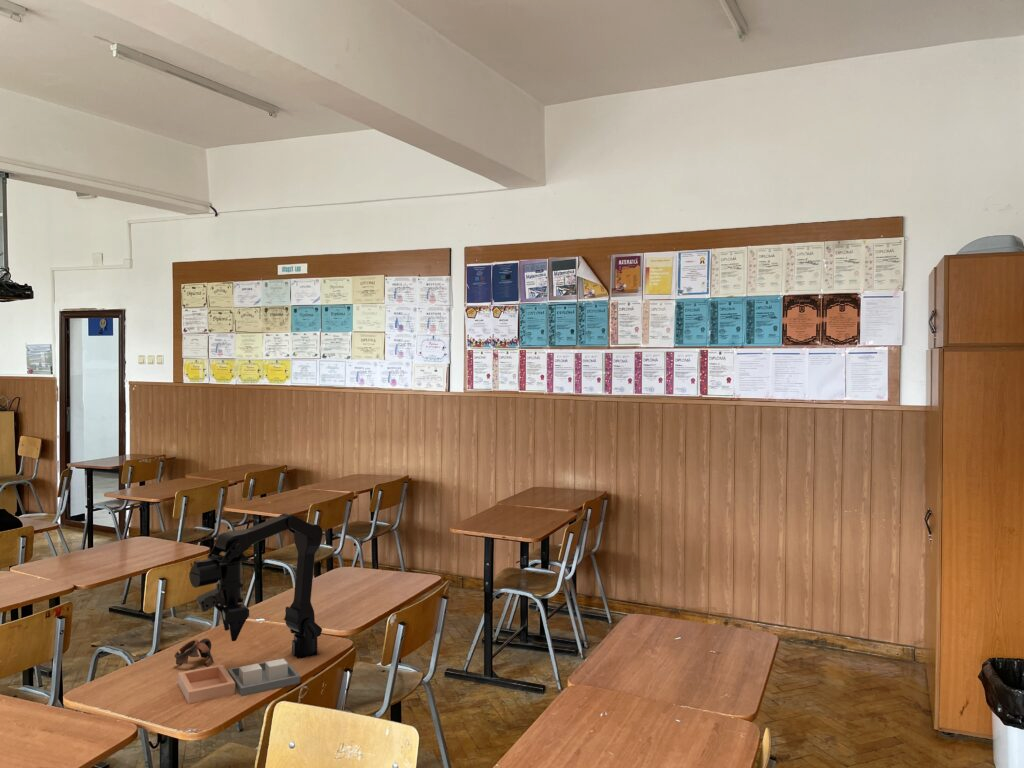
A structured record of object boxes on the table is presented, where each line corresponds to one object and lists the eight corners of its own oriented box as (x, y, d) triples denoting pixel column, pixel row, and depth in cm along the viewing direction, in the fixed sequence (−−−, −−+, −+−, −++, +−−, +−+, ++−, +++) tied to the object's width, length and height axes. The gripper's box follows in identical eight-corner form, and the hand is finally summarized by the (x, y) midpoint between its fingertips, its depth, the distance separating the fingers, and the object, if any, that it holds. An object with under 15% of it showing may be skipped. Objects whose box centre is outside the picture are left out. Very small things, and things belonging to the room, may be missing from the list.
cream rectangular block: (257, 677, 208) (258, 663, 208) (261, 683, 205) (262, 668, 205) (239, 681, 205) (239, 667, 205) (242, 687, 202) (243, 672, 202)
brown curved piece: (207, 674, 212) (191, 651, 211) (180, 686, 214) (164, 663, 212) (226, 648, 224) (211, 626, 222) (200, 659, 226) (185, 637, 224)
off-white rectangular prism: (283, 672, 212) (283, 658, 212) (287, 677, 209) (287, 663, 209) (265, 676, 209) (265, 662, 209) (269, 681, 206) (269, 667, 206)
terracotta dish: (222, 676, 210) (222, 664, 210) (235, 696, 198) (235, 682, 198) (177, 685, 203) (178, 672, 203) (188, 706, 192) (188, 692, 191)
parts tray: (283, 667, 217) (284, 658, 217) (300, 685, 205) (300, 675, 205) (227, 678, 209) (227, 669, 209) (241, 698, 197) (241, 688, 197)
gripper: (193, 574, 211) (193, 630, 211) (205, 593, 195) (205, 652, 196) (234, 569, 217) (234, 623, 217) (249, 586, 201) (249, 644, 201)
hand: (230, 635), depth 208 cm, fingers open, 9 cm apart
